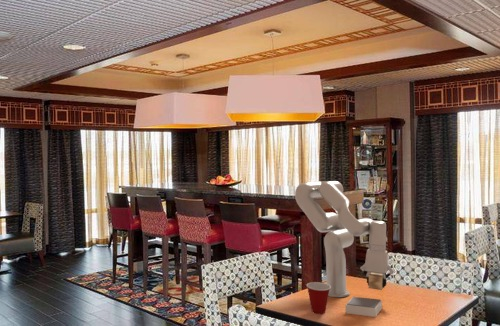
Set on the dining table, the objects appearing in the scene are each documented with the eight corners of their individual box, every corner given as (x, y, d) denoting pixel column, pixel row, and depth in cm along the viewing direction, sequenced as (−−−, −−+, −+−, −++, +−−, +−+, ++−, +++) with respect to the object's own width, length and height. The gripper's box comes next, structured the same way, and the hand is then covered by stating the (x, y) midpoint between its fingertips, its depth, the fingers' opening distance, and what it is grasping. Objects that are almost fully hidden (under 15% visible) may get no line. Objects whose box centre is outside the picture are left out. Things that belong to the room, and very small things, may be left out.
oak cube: (368, 288, 224) (368, 275, 223) (371, 284, 229) (371, 272, 229) (381, 290, 221) (381, 277, 221) (384, 286, 226) (384, 274, 226)
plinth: (345, 313, 210) (345, 304, 210) (353, 304, 222) (353, 296, 222) (375, 317, 204) (375, 307, 204) (381, 308, 216) (381, 299, 216)
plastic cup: (325, 317, 205) (325, 289, 205) (302, 313, 210) (302, 286, 210) (335, 310, 214) (334, 283, 214) (313, 306, 220) (312, 280, 220)
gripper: (356, 247, 225) (356, 285, 225) (395, 251, 217) (394, 290, 218) (360, 244, 231) (360, 281, 232) (397, 248, 224) (396, 286, 224)
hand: (376, 285), depth 225 cm, fingers closed on oak cube, 6 cm apart
